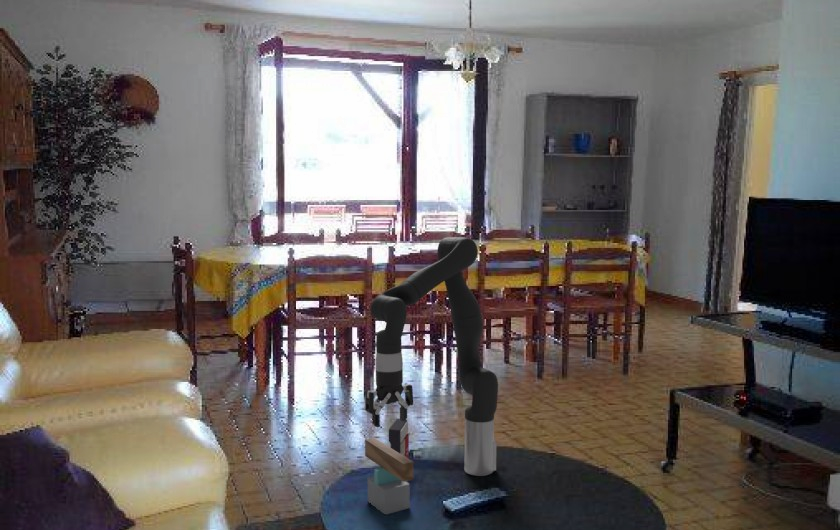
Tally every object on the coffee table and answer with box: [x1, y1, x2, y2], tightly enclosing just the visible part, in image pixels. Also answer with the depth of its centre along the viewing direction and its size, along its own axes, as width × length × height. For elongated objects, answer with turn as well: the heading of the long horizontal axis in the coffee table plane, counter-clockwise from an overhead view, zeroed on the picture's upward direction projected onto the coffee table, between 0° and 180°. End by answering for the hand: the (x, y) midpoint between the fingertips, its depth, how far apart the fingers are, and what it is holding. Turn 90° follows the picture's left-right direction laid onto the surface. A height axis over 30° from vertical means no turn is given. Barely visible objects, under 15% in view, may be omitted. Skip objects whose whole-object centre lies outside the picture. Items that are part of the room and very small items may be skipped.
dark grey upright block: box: [388, 418, 410, 459], centre depth 228 cm, size 11×4×15 cm, turn 168°
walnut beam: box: [364, 437, 414, 482], centre depth 203 cm, size 3×22×5 cm, turn 32°
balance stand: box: [367, 466, 411, 515], centre depth 204 cm, size 8×10×11 cm
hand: (389, 423), depth 203 cm, fingers open, 8 cm apart
